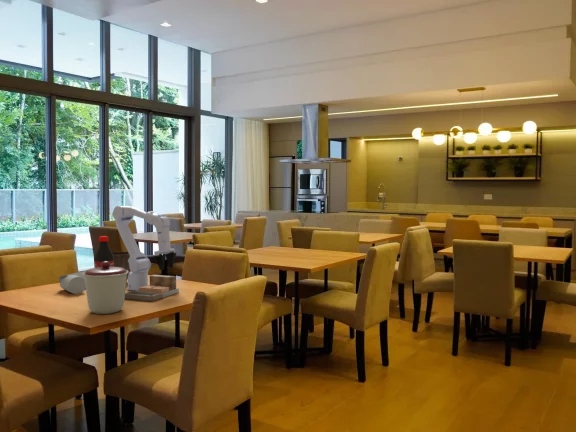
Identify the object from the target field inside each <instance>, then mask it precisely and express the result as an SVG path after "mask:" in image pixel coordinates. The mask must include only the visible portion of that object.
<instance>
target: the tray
mask: <svg viewBox="0 0 576 432" xmlns="http://www.w3.org/2000/svg"><path fill="white" fill-rule="evenodd" d="M163 298H164V297H163V293H159V294H156V295H153V296H148V295H137V294H136V290H129V291H128V292H127V291H126V292H125V299H124V300H129V301H142V302H150V303H153V302H156V301H158V300H162V299H163Z"/></svg>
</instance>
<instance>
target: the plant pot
mask: <svg viewBox="0 0 576 432" xmlns="http://www.w3.org/2000/svg"><path fill="white" fill-rule="evenodd" d="M111 252H112V254H113V257H114V267H121V268H124V269H125V270H127V271H129V272H128V274H127V280H126V283H128V275H129V273H130V272H131V270H130V267H129V262H128V259H129V258H130V255H129V253H128V251H111Z"/></svg>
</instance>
